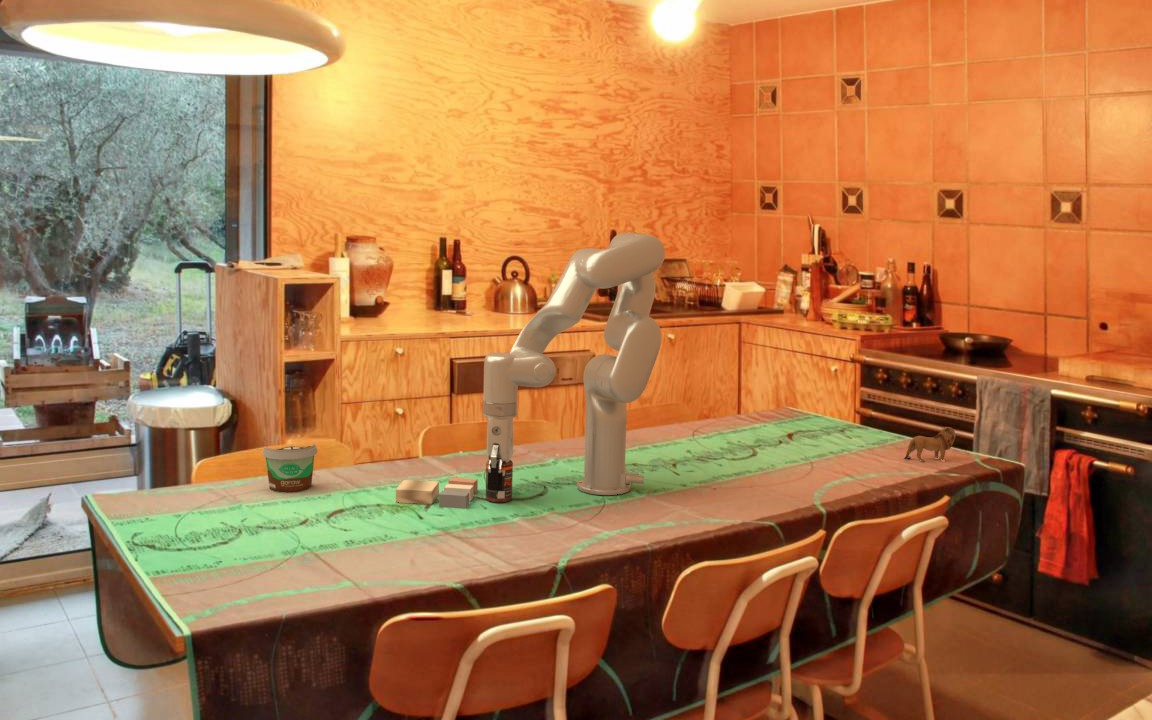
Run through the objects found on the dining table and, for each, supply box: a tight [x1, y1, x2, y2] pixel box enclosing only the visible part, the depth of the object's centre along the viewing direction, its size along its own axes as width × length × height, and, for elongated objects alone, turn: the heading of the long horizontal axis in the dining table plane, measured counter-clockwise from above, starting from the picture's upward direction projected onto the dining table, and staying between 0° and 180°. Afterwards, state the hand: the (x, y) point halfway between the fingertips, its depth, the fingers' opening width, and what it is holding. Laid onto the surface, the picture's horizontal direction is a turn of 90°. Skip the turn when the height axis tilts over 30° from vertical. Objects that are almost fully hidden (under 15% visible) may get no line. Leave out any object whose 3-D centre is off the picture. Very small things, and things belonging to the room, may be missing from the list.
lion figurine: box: [903, 426, 957, 462], centre depth 284 cm, size 15×5×9 cm, turn 104°
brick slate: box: [438, 490, 470, 509], centre depth 232 cm, size 6×3×3 cm, turn 83°
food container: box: [261, 441, 319, 494], centre depth 239 cm, size 12×6×10 cm, turn 117°
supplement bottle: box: [485, 458, 514, 504], centre depth 236 cm, size 6×6×11 cm
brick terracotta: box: [447, 476, 479, 496], centre depth 242 cm, size 6×3×3 cm, turn 77°
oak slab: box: [395, 479, 440, 505], centre depth 236 cm, size 8×8×3 cm
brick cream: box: [443, 483, 474, 502], centre depth 237 cm, size 6×3×3 cm, turn 83°
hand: (498, 484), depth 236 cm, fingers open, 9 cm apart
